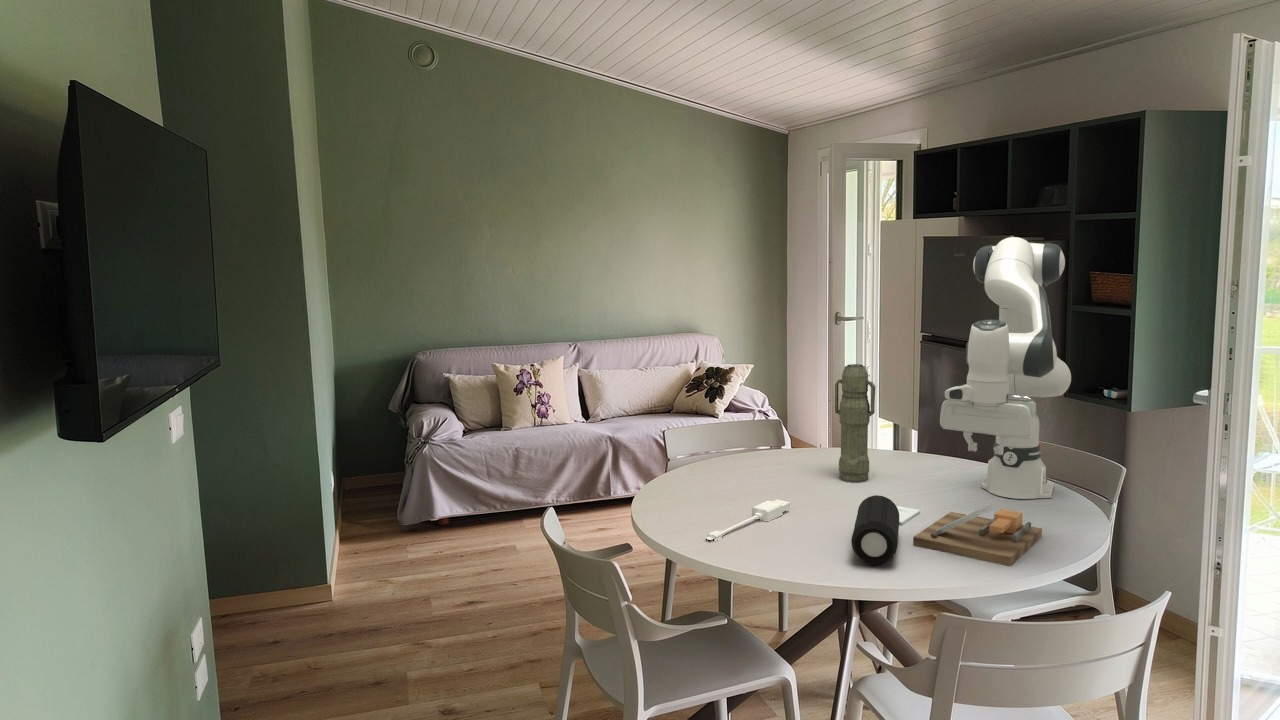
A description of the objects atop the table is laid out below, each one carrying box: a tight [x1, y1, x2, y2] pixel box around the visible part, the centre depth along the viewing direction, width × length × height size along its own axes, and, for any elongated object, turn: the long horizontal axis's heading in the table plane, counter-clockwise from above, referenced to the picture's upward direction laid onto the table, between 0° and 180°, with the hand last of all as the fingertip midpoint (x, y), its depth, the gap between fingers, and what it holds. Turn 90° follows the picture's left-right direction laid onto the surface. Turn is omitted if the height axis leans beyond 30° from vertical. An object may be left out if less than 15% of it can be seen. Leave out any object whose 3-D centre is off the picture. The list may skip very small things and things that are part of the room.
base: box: [912, 511, 1043, 567], centre depth 199 cm, size 24×22×4 cm
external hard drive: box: [896, 505, 921, 527], centre depth 219 cm, size 2×8×12 cm
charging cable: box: [705, 499, 791, 541], centre depth 214 cm, size 5×32×3 cm, turn 136°
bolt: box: [989, 508, 1024, 534], centre depth 198 cm, size 12×5×4 cm, turn 140°
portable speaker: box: [850, 495, 900, 565], centre depth 195 cm, size 26×10×10 cm, turn 162°
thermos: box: [834, 363, 876, 484], centre depth 253 cm, size 9×12×35 cm
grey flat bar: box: [936, 503, 994, 535], centre depth 195 cm, size 4×14×1 cm
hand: (985, 452), depth 190 cm, fingers open, 4 cm apart
